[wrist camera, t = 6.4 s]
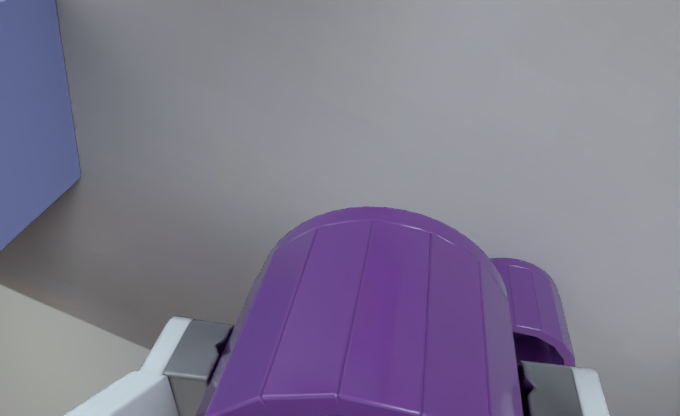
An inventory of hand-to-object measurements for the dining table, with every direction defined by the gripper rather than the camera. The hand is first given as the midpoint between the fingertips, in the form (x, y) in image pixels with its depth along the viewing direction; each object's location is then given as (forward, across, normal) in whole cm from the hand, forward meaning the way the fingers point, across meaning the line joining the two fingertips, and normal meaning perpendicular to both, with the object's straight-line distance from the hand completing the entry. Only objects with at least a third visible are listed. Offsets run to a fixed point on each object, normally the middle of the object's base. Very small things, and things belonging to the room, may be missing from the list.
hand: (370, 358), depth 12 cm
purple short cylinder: (+2, 0, 0) cm, 2 cm away
